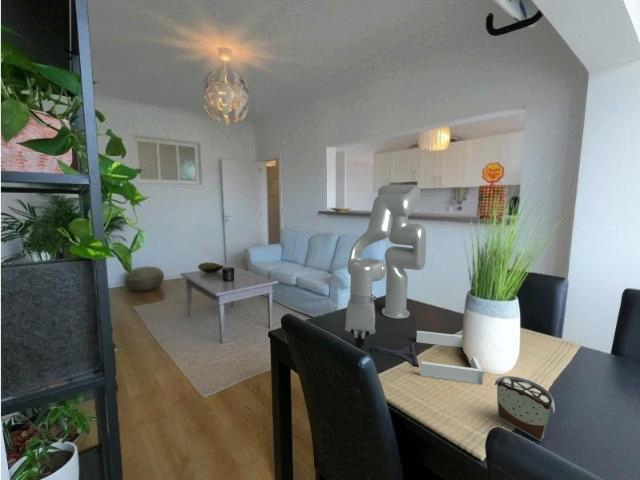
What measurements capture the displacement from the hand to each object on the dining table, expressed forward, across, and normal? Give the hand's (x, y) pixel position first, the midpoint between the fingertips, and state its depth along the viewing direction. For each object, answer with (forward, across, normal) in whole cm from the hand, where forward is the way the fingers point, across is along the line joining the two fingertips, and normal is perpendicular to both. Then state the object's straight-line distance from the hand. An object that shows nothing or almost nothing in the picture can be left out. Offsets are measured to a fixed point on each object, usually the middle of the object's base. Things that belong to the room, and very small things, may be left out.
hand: (359, 347), depth 109 cm
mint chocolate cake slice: (+1, -43, +26) cm, 50 cm away
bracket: (+2, -12, 0) cm, 12 cm away
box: (+1, -28, 0) cm, 28 cm away
